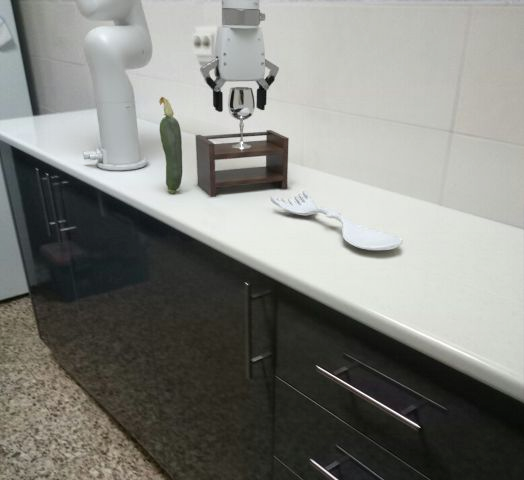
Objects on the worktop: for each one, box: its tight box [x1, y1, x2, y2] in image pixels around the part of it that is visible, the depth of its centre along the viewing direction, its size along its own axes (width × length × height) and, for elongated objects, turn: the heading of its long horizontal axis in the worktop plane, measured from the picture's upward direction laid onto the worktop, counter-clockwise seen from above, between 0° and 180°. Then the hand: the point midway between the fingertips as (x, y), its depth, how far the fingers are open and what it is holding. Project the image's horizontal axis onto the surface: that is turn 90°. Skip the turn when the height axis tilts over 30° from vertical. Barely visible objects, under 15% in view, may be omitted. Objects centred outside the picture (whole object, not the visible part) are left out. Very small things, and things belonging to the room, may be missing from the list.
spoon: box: [269, 190, 404, 251], centre depth 109 cm, size 9×32×4 cm, turn 32°
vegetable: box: [158, 96, 183, 194], centre depth 124 cm, size 4×4×20 cm
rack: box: [194, 129, 290, 198], centre depth 132 cm, size 18×10×11 cm, turn 112°
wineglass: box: [227, 86, 256, 149], centre depth 127 cm, size 6×6×12 cm
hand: (239, 110), depth 126 cm, fingers open, 9 cm apart
